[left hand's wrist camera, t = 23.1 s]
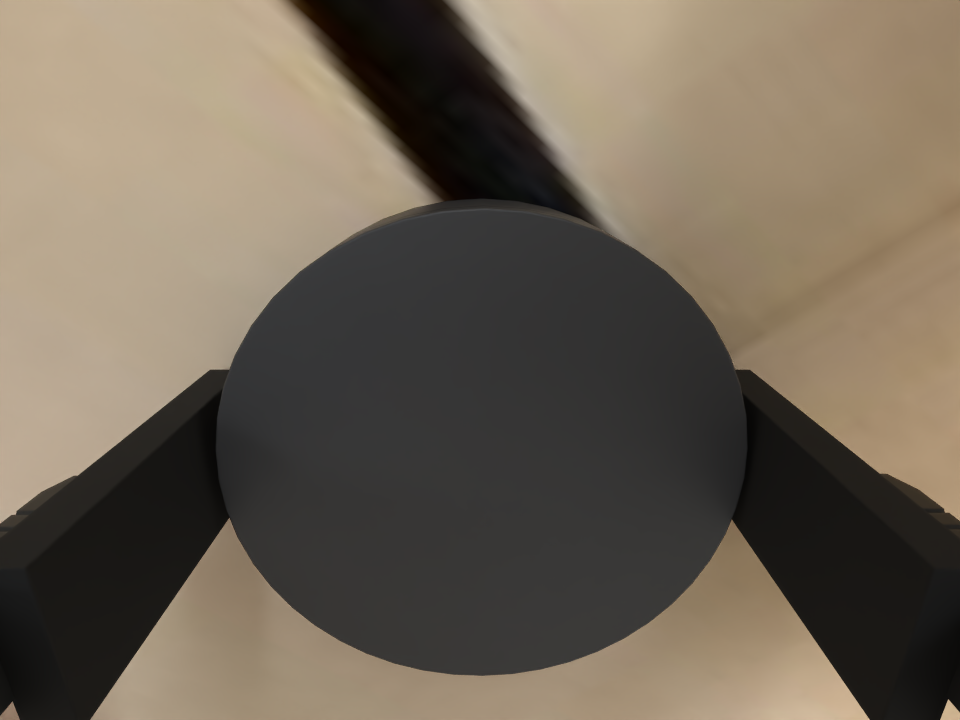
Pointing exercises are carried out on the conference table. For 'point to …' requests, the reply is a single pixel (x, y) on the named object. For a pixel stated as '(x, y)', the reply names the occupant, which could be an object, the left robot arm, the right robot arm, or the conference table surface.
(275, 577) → the lid
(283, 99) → the conference table surface
